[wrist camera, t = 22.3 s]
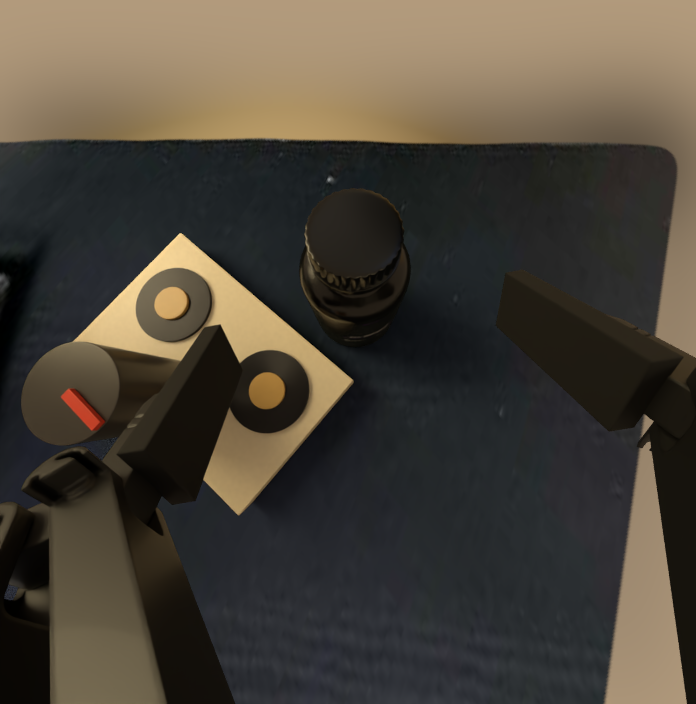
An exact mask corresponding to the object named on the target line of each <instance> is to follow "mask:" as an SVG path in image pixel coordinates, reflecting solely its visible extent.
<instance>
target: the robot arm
mask: <svg viewBox="0 0 696 704" xmlns="http://www.w3.org/2000/svg"><path fill="white" fill-rule="evenodd" d="M496 326H497V327H498V328H499V329H500V330H501V331H502V332H503V333H504V334H505V335H506V336H507V337H509V338H510V339H511V340H512V341H513V342H514V343H515V344H516V345H517V346H518V347H519V348H520V349H521V350H522V351H523V352H525V353H526V354H527V355H528V356H529V357H530V358H531V359H532V360H533V361H534V362H535V363H536V364H537V365H538V366H540V367H541V368H542V369H543V370H544V371H545V372H546V373H547V374H548V375H549V376H550V377H551V378H552V379H553V380H554V381H556V382H557V383H558V384H559V385H560V386H561V387H562V388H563V389H564V390H565V391H566V392H567V393H568V394H569V395H570V396H572V397H573V398H574V399H575V400H576V401H577V402H578V403H579V404H580V405H581V406H582V407H583V408H584V409H585V410H586V411H588V412H589V413H590V414H591V415H592V416H593V417H594V418H595V419H596V420H597V421H598V422H599V423H600V424H601V425H602V426H604V427H605V428H606V429H607V430H608V431H615V430H621V429H627V428H633V427H634V426H635V425H636V424H637V422H638V421H639V419H640V418H641V417H642V415H643V414H645V415H647V416H648V417H649V418H650V419H652V420H653V421H654V422H653V424H652V425H651V426H650V427H649V429H648V430H647V431H646V433H645V434H644V435H643V437H642V438H641V439H640V440H639V442H638V445H637V447H639V448H643V446H644V445H645V444H646V443H647V442H651V449H650V451H652V456H653V463H654V470H655V477H656V485H657V492H658V499H659V506H660V513H661V520H662V528H663V535H664V542H665V549H666V557H667V564H668V571H669V578H670V585H671V592H672V599H673V607H674V613H675V620H676V628H677V635H678V642H679V650H680V656H681V663H682V671H683V678H684V685H685V692H686V699H687V704H696V358H695V357H693V356H691V355H689V354H687V353H685V352H684V351H682V350H680V349H678V348H676V347H674V346H672V345H670V344H668V343H666V342H665V341H663V340H661V339H659V338H657V337H655V336H651V334H649V333H647V332H646V331H644V330H642V329H638V327H636V326H634V325H632V324H630V323H628V322H626V321H625V320H622V319H619V318H616V317H613V316H610V315H606V314H604V313H602V312H600V311H598V310H596V309H595V308H593V307H591V306H589V305H587V304H585V303H583V302H582V301H580V300H578V299H576V298H574V297H572V296H570V295H569V294H567V293H565V292H563V291H561V290H559V289H557V288H556V287H554V286H552V285H550V284H548V283H546V282H544V281H543V280H541V279H539V278H537V277H535V276H533V275H531V274H530V273H528V272H526V271H524V270H519V271H513V272H508V273H506V274H505V279H504V284H503V290H502V295H501V300H500V306H499V311H498V316H497V321H496ZM242 372H243V369H242V367H241V365H240V363H239V361H238V359H237V357H236V355H235V353H234V351H233V349H232V347H231V345H230V343H229V341H228V338H227V336H226V334H225V332H224V330H223V328H222V326H221V324H219V325H213V326H208V327H204V328H203V330H202V331H201V333H200V334H199V335H198V337H197V338H196V340H195V341H194V343H193V344H192V346H191V347H190V348H189V350H188V351H187V353H186V354H185V356H184V357H183V359H182V360H181V361H180V363H179V364H178V366H177V367H176V369H175V370H174V372H173V373H172V374H171V376H170V377H169V379H168V380H167V382H166V383H165V385H164V386H163V387H162V389H161V390H160V392H159V393H157V394H154V395H153V396H152V397H151V398H150V399H148V400H147V401H146V402H145V403H144V404H143V405H142V406H141V407H140V409H139V410H138V411H137V413H136V414H135V416H134V419H132V420H131V421H130V423H129V424H128V425H127V429H124V431H123V432H122V434H121V435H120V436H119V438H118V439H117V440H116V442H115V443H114V445H113V446H112V447H111V449H110V450H109V451H108V453H107V454H106V456H105V457H104V458H103V460H102V461H101V460H100V459H99V458H98V457H96V456H95V455H94V454H93V453H92V452H90V451H89V450H88V449H87V448H86V447H80V446H77V447H73V448H69V449H66V450H64V451H62V452H60V453H58V454H56V455H54V456H53V457H51V458H49V459H48V460H46V461H45V462H43V463H42V464H41V465H40V466H39V467H38V468H36V469H35V470H34V471H33V472H32V473H31V474H30V475H29V477H28V478H27V479H26V480H25V482H24V484H23V486H22V489H21V491H23V492H25V493H26V494H28V495H30V496H32V497H33V498H35V499H37V500H38V501H40V502H42V503H41V504H38V505H36V506H34V507H31V508H29V509H26V508H24V507H22V506H20V505H19V504H17V503H15V502H4V503H1V504H0V704H235V702H234V699H233V696H232V694H231V691H230V689H229V686H228V683H227V681H226V678H225V676H224V673H223V670H222V668H221V665H220V663H219V660H218V657H217V655H216V652H215V650H214V647H213V644H212V642H211V639H210V637H209V634H208V631H207V629H206V626H205V623H204V621H203V618H202V616H201V613H200V610H199V608H198V605H197V603H196V600H195V597H194V595H193V592H192V590H191V587H190V584H189V582H188V579H187V577H186V574H185V571H184V569H183V566H182V564H181V561H180V558H179V556H178V553H177V550H176V548H175V545H174V543H173V540H172V537H171V535H170V532H169V530H168V527H167V524H166V522H165V519H164V517H163V514H162V512H161V511H160V510H159V509H158V508H157V505H158V503H159V500H160V498H161V496H163V497H164V498H165V499H166V500H167V501H168V502H169V503H171V504H172V505H174V504H180V503H186V502H192V501H196V498H197V495H198V492H199V490H200V487H201V484H202V481H203V479H204V476H205V473H206V470H207V468H208V465H209V462H210V459H211V457H212V454H213V451H214V448H215V446H216V443H217V440H218V437H219V435H220V432H221V429H222V427H223V424H224V421H225V418H226V416H227V413H228V410H229V407H230V405H231V402H232V399H233V396H234V394H235V391H236V388H237V385H238V383H239V380H240V377H241V374H242ZM8 584H9V585H12V586H15V587H18V590H17V593H16V596H15V597H14V599H13V600H6V599H4V596H5V592H6V589H7V587H8Z"/></svg>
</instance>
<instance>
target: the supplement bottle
mask: <svg viewBox="0 0 696 704" xmlns="http://www.w3.org/2000/svg"><path fill="white" fill-rule="evenodd" d="M402 223H403V221H402V220H401V218H400V217H399V212H398V211H396V210H395V207H394V205H393V204H391V203H390V202H389V201H388V199H386V198H383V197H382V196H381V195H380V194H378V193H374V192H373V191H371V190H364V189H362V188H361V189H354V188H351V189H349V190H346V189H343V190H341V191H339V192H334V193H332V194H331V195H329V196H326V197H325V198H324V199H323V200H322V201H320V202H318V204H317V206H316V207H315V208H313V209H312V213H311V214H310V215H309V217H308V222H307V223H306V225H305V228H306V231H305V234H304V237H305V240H306V241H305V248H304V250H303V253H302V255H301V259H300V266H299V276H300V282H301V286H302V289H303V291H304V294H305V296H306V298H307V300H308V302H309V304H310V306H311V308H312V310H313V312H314V314H315V316H316V318H317V320H318V322H319V324H320V326H321V327H322V329H323V331H324V332H325V333H326V334H327V335H328V336H329V337H330V338H331V339H332V340H334V341H335V342H337V343H339V344H341V345H344V346H349V347H362V346H366V345H369V344H372V343H374V342H376V341H377V340H379V339H380V338H381V337H382V336H383V335H384V334H385V333H386V332H387V330H388V329H389V327H390V325H391V324H392V322H393V319H394V317H395V315H396V313H397V311H398V308H399V306H400V304H401V302H402V300H403V297H404V295H405V293H406V291H407V288H408V284H409V281H410V274H411V265H410V258H409V254H408V251H407V249H406V247H405V245H404V243H403V242H404V239H403V234H404V229H403V227H402Z"/></svg>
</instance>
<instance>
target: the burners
mask: <svg viewBox="0 0 696 704" xmlns="http://www.w3.org/2000/svg"><path fill="white" fill-rule="evenodd" d="M211 308H212V295H211V291H210V288H209V286H208V284H207V283H206V281H205V280H204V279H203V278H202V277H201V276H200V275H198V274H197V273H195V272H193V271H191V270H189V269H185V268H170V269H166V270H163V271H161V272H159V273H157V274H155V275H154V276H153V277H151V278H150V279H149V280H148V281H147V282H146V283H145V284H144V286H143V287H142V289H141V291H140V293H139V295H138V297H137V301H136V317H137V320H138V323H139V325H140V327H141V328H142V329H143V331H144V332H145V333H146V334H148V335H149V336H150V337H152V338H154V339H156V340H160V341H164V342H177V341H181V340H185V339H187V338H189V337H191V336H193V335H194V334H195V333H197V332H198V331H199V330H200V329H201V328H202V327H203V325H204V324H205V323H206V321H207V319H208V317H209V315H210V312H211ZM240 365H241V367H242V369H243V372H242V374H241V377H240V380H239V383H238V385H237V388H236V391H235V394H234V396H233V399H232V402H231V405H230V410H231V412H232V414H233V415H234V417H235V418H236V420H237V421H238V422H239V423H240V424H241V425H243V426H244V427H245V428H247V429H249V430H251V431H254V432H257V433H275V432H279V431H281V430H284V429H286V428H288V427H289V426H291V425H292V424H293V423H295V422H296V421H297V420H298V419H299V417H300V416H301V415H302V413H303V412H304V410H305V408H306V405H307V403H308V399H309V381H308V377H307V374H306V372H305V370H304V368H303V367H302V366H301V364H300V363H299V362H298V361H297V360H296V359H295V358H293V357H292V356H290V355H288V354H286V353H284V352H281V351H277V350H264V351H259V352H256V353H254V354H251V355H250V356H248V357H246V358H245V359H244V360H243V361H242V362H241V363H240Z"/></svg>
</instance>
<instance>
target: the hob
mask: <svg viewBox="0 0 696 704" xmlns="http://www.w3.org/2000/svg"><path fill="white" fill-rule="evenodd" d="M170 268H185V269H189V270H191V271H193V272H195V273H197V274H198V275H200V276H201V277H202V278H203V279H204V280H205V281H206V283H207V284H208V286H209V288H210V291H211V295H212V308H211V312H210V315H209V317H208V319H207V321H206V323H205V324H204V325H203V327H202V328H201V329H200V330H199V331H198V332H197V333H195V334H194V335H193V336H191V337H189V338H187V339H185V340H181V341H177V342H164V341H160V340H156V339H154V338H152V337H150V336H149V335H148V334H146V333H145V332H144V331H143V329H142V328H141V327H140V325H139V323H138V320H137V317H136V301H137V297H138V295H139V293H140V291H141V289H142V287H143V286H144V284H145V283H146V282H147V281H148V280H149V279H150V278H151V277H153V276H154V275H155V274H157V273H159V272H161V271H163V270H166V269H170ZM219 324H221V326H222V328H223V330H224V332H225V334H226V336H227V338H228V341H229V343H230V345H231V347H232V349H233V351H234V353H235V355H236V357H237V359H238V361H239V363H241V362H242V361H243V360H244V359H245V358H246V357H248V356H250V355H251V354H254V353H256V352H259V351H264V350H277V351H281V352H284V353H286V354H288V355H290V356H292V357H293V358H295V359H296V360H297V361H298V362H299V363H300V364H301V366H302V367H303V368H304V370H305V372H306V374H307V377H308V381H309V399H308V403H307V405H306V408H305V410H304V412H303V413H302V415H301V416H300V417H299V419H298V420H297V421H296V422H295V423H293V424H292V425H291V426H289V427H288V428H286V429H284V430H281V431H279V432H275V433H257V432H254V431H251V430H249V429H247V428H245V427H244V426H243V425H241V424H240V423H239V422H238V421H237V420H236V418H235V417H234V415H233V414H232V412H231V410H230V407H229V410H228V413H227V416H226V418H225V421H224V424H223V427H222V429H221V432H220V435H219V437H218V440H217V443H216V446H215V448H214V451H213V454H212V457H211V459H210V462H209V465H208V468H207V470H206V473H205V476H204V479H203V480H204V481H205V482H206V483H207V484H208V485H209V486H210V487H211V488H212V489H213V490H214V491H215V492H216V493H217V494H218V495H219V496H220V497H221V498H222V499H223V500H224V501H225V502H226V503H227V504H228V505H229V506H230V507H231V508H232V510H233V511H234V512H235V513H236V514H237V515H240V514H241V513H242V512H243V511H244V510H245V509H246V508H247V507H248V506H249V505H250V504H251V503H252V502H253V501H254V500H255V499H256V498H257V496H258V495H259V494H260V493H261V492H262V490H263V489H264V488H265V487H266V486H267V485H268V483H269V482H270V481H271V480H272V479H273V477H274V476H275V475H276V474H277V473H278V472H279V470H280V469H281V468H282V467H283V466H284V464H285V463H286V462H287V461H288V460H289V459H290V457H291V456H292V455H293V454H294V453H295V451H296V450H297V449H298V448H299V447H300V446H301V444H302V443H303V442H304V441H305V440H306V438H307V437H308V436H309V435H310V434H311V433H312V431H313V430H314V429H315V428H316V427H317V425H318V424H319V423H320V422H321V421H322V420H323V418H324V417H325V416H326V415H327V414H328V412H329V411H330V410H331V409H332V408H333V407H334V405H335V404H336V403H337V402H338V401H339V399H340V398H341V397H342V396H343V395H344V394H345V392H346V391H347V390H348V389H349V388H350V386H351V385H352V384H353V383H354V381H353V380H352V379H351V378H350V377H349V376H348V375H347V374H345V373H344V372H343V371H342V370H341V369H340V368H338V367H337V366H336V365H335V364H334V363H333V362H331V361H330V360H329V359H328V358H327V357H325V356H324V355H323V354H322V353H321V352H320V351H318V350H317V349H316V348H315V347H314V346H313V345H311V344H310V343H309V342H308V341H307V340H306V339H304V338H303V337H302V336H301V335H300V334H299V333H297V332H296V331H295V330H294V329H293V328H292V327H290V326H289V325H288V324H287V323H286V322H284V321H283V320H282V319H281V318H280V317H279V316H277V315H276V314H275V313H274V312H273V311H272V310H270V309H269V308H268V307H267V306H266V305H265V304H263V303H262V302H261V301H260V300H259V299H258V298H256V297H255V296H254V295H253V294H252V293H251V292H249V291H248V290H247V289H246V288H245V287H244V286H242V285H241V284H240V283H239V282H238V281H236V280H235V279H234V278H233V277H232V276H231V275H229V274H228V273H227V272H226V271H225V270H224V269H222V268H221V267H220V266H219V265H218V264H217V263H215V262H214V261H213V260H212V259H211V258H210V257H208V256H207V255H206V254H205V253H204V252H203V251H201V250H200V249H199V248H198V247H197V246H195V245H194V244H193V243H192V242H191V241H190V240H188V239H187V238H186V237H185V236H184V235H183V234H181V233H180V234H179V235H178V236H177V237H176V238H175V239H174V240H173V241H172V242H171V243H170V244H169V245H168V246H167V247H166V248H165V249H164V250H163V251H162V252H161V253H160V254H159V255H158V256H157V257H156V258H155V259H154V260H153V261H152V262H151V263H150V264H149V265H148V266H147V267H146V268H145V269H144V270H143V271H142V272H141V273H140V274H139V275H138V276H137V278H136V279H135V280H134V281H133V282H132V283H131V284H130V285H129V286H128V287H127V288H126V289H125V290H124V291H123V292H122V293H121V294H120V295H119V296H118V297H117V298H116V299H115V300H114V301H113V302H112V303H111V304H110V305H109V306H108V307H107V308H106V309H105V310H104V311H103V312H102V313H101V314H100V315H99V316H98V317H97V318H96V319H95V320H94V321H93V322H92V323H91V324H90V325H89V326H88V327H87V328H86V329H85V330H84V331H83V332H82V333H81V334H80V335H79V336H78V337H77V338H76V339H75V340H74V341H73V342H89V343H94V344H99V345H104V346H109V347H114V348H119V349H124V350H129V351H134V352H139V353H144V354H149V355H154V356H159V357H164V358H170V359H175V360H180V361H181V360H182V359H183V357H184V356H185V354H186V353H187V351H188V350H189V348H190V347H191V346H192V344H193V343H194V341H195V340H196V338H197V337H198V335H199V334H200V333H201V331H202V330H203V328H204V327H208V326H213V325H219Z"/></svg>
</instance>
